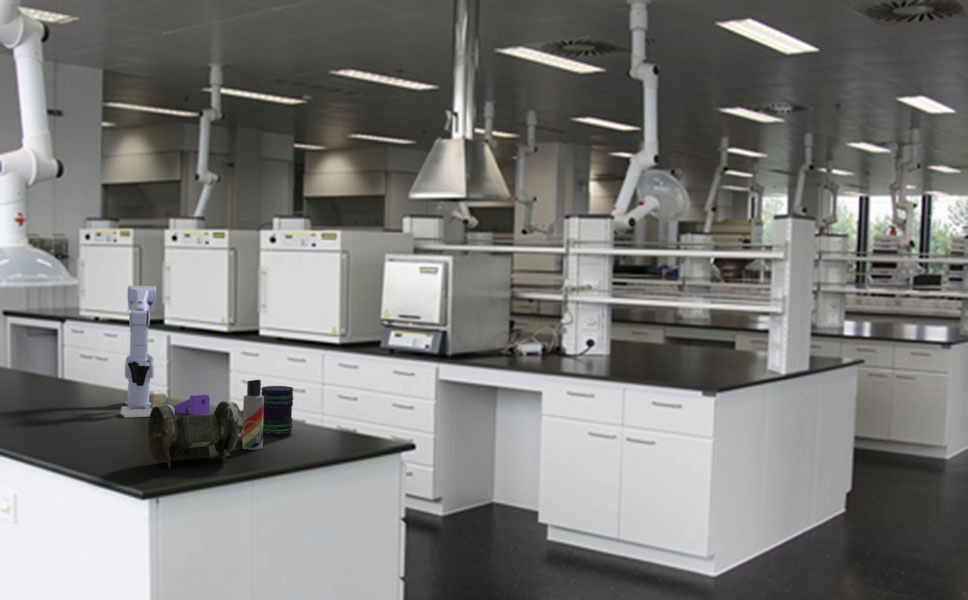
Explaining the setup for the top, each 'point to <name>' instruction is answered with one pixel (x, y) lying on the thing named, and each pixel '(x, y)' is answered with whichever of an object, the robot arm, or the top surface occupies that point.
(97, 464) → the top surface
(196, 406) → the bracket
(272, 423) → the storage jar
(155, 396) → the peg
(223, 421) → the bench grinder
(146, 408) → the grey rectangular frame
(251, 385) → the lotion bottle
